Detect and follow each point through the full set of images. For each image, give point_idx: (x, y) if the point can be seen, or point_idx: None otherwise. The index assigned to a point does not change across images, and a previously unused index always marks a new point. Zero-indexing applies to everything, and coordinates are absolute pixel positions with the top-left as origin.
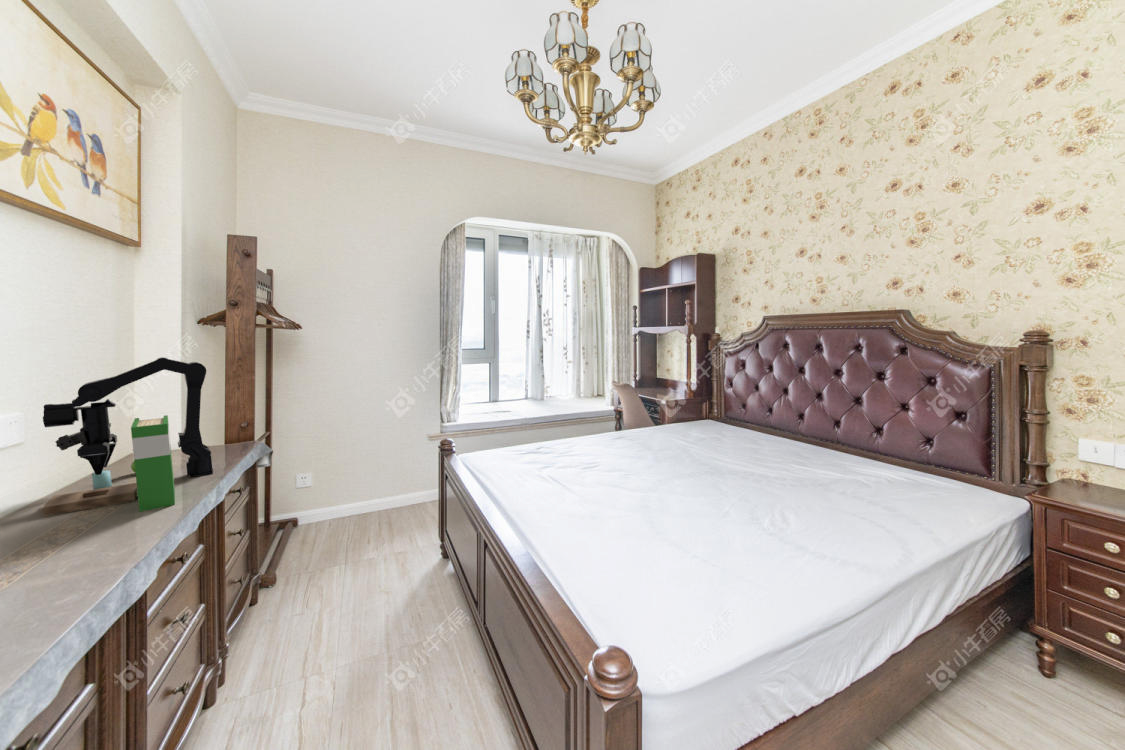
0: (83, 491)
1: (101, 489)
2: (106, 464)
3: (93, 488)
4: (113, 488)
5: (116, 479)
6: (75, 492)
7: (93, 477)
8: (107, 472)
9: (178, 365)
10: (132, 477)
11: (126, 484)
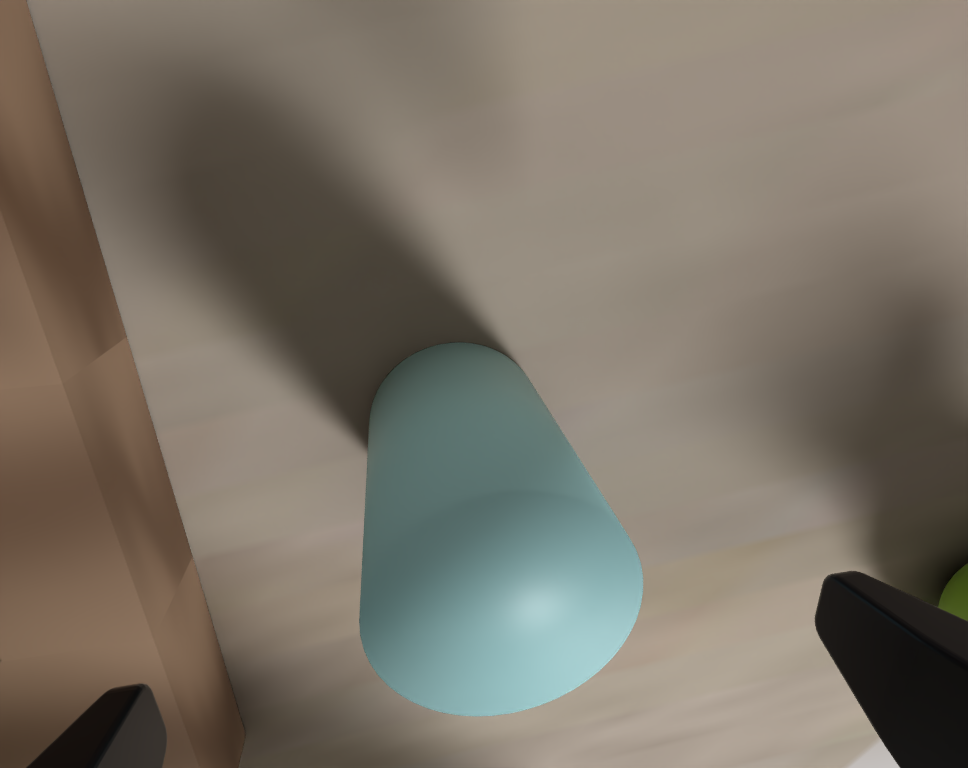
0: (34, 371)
1: (43, 575)
2: (859, 680)
3: (426, 372)
4: (26, 691)
5: (914, 422)
6: (18, 264)
7: (403, 492)
8: (429, 705)
9: None
10: (862, 542)
11: (188, 754)
